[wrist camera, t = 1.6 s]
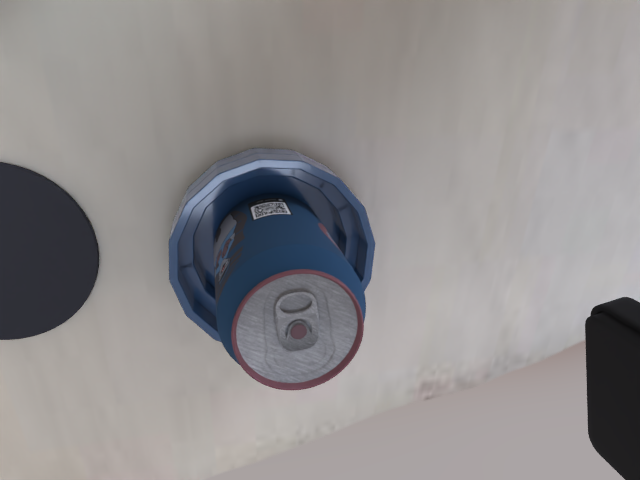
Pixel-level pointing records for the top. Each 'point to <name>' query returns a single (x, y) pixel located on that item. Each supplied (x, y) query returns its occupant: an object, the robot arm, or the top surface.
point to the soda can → (285, 294)
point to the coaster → (41, 254)
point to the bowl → (245, 182)
